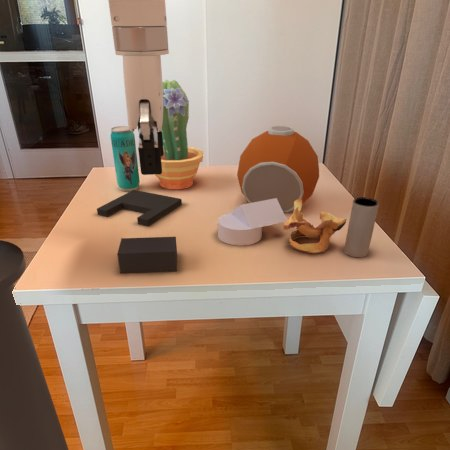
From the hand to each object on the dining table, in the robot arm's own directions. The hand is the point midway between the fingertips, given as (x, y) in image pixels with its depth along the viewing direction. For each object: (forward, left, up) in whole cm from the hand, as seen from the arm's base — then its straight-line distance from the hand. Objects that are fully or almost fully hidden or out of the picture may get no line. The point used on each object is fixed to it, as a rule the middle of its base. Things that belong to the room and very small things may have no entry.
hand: (153, 164), depth 69 cm
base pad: (-18, +18, -18) cm, 31 cm away
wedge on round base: (+10, +18, -18) cm, 27 cm away
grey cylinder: (+32, +20, -18) cm, 42 cm away
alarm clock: (+9, +37, -18) cm, 42 cm away
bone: (+23, +19, -18) cm, 34 cm away
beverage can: (-29, +29, -18) cm, 45 cm away
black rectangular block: (-1, -2, -18) cm, 18 cm away
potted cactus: (-20, +38, -18) cm, 46 cm away
